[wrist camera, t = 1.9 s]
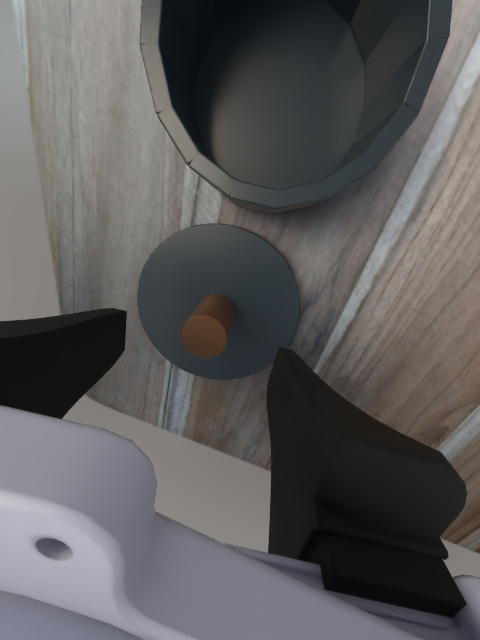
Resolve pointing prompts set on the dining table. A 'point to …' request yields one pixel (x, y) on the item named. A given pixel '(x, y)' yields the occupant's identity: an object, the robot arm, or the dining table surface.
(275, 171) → the pot
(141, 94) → the dining table surface
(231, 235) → the lid
